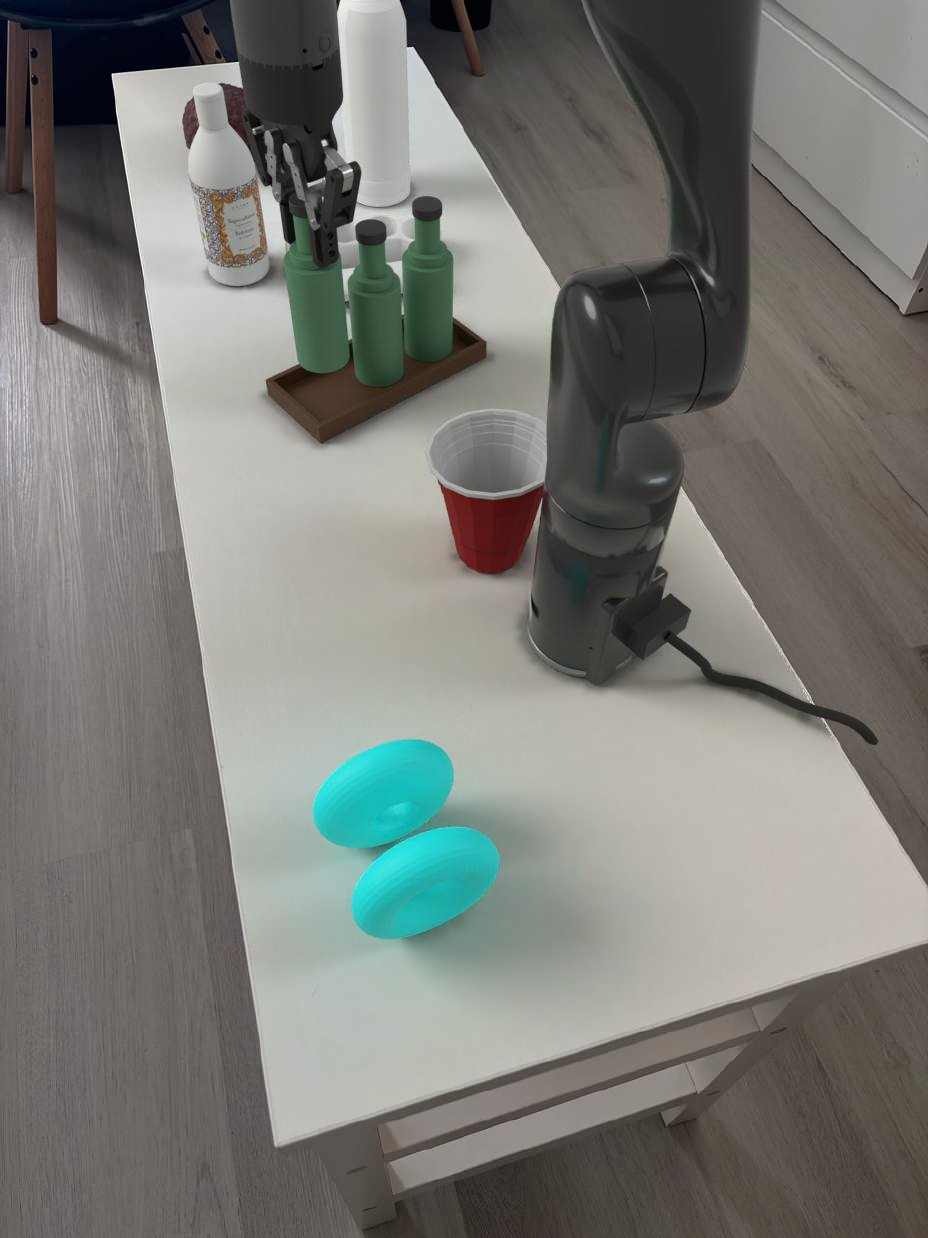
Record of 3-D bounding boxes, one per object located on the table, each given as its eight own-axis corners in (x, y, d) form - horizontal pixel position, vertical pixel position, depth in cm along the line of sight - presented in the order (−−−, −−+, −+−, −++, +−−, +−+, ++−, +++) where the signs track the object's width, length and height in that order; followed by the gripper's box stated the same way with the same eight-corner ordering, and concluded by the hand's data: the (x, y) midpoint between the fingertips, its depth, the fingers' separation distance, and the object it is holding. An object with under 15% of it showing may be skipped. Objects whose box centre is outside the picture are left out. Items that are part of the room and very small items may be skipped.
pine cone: (169, 134, 131) (192, 57, 126) (241, 166, 135) (266, 92, 131) (175, 162, 117) (202, 76, 113) (255, 197, 122) (283, 115, 117)
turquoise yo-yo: (366, 965, 64) (356, 907, 56) (314, 836, 69) (298, 766, 61) (503, 903, 67) (512, 839, 59) (442, 784, 72) (443, 711, 64)
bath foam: (225, 295, 109) (189, 111, 93) (199, 264, 112) (160, 82, 96) (281, 276, 111) (255, 94, 95) (254, 247, 115) (224, 66, 99)
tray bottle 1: (413, 374, 100) (409, 229, 88) (374, 394, 98) (364, 249, 86) (383, 350, 102) (376, 206, 90) (345, 369, 100) (331, 224, 88)
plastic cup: (487, 487, 91) (492, 383, 82) (574, 549, 86) (590, 447, 77) (400, 546, 86) (395, 444, 77) (488, 616, 82) (494, 516, 72)
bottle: (423, 187, 124) (419, -95, 100) (387, 214, 120) (374, -73, 96) (372, 168, 126) (356, -111, 103) (335, 195, 122) (309, -90, 98)
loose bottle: (360, 359, 94) (347, 200, 81) (317, 380, 92) (297, 221, 79) (329, 334, 96) (313, 176, 83) (287, 354, 94) (263, 195, 81)
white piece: (302, 317, 107) (280, 244, 115) (461, 293, 110) (428, 224, 118) (299, 290, 104) (276, 218, 112) (462, 266, 107) (428, 197, 116)
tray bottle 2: (462, 349, 103) (465, 205, 90) (425, 368, 101) (422, 223, 88) (432, 327, 105) (431, 183, 92) (395, 345, 103) (389, 201, 90)
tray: (486, 357, 103) (487, 341, 101) (320, 443, 94) (318, 427, 93) (431, 316, 107) (431, 300, 106) (267, 395, 98) (265, 379, 97)
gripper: (192, 18, 73) (231, 231, 87) (299, 88, 67) (323, 306, 80) (276, -6, 76) (301, 203, 90) (387, 58, 70) (395, 273, 83)
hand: (311, 250), depth 85 cm, fingers closed on loose bottle, 4 cm apart
